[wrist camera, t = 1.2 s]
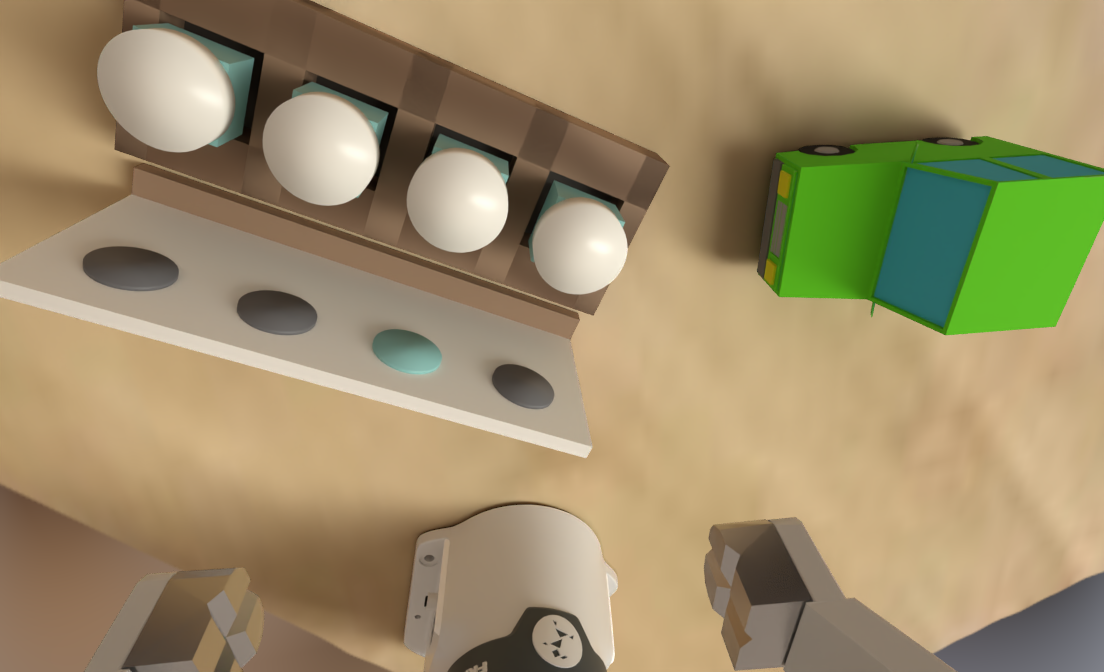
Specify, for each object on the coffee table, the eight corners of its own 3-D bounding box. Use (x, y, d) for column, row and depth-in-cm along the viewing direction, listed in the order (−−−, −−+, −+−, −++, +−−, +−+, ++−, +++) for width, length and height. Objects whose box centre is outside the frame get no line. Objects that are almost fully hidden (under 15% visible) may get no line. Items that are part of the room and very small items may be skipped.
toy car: (763, 127, 34) (852, 170, 26) (978, 114, 35) (1135, 151, 26) (742, 283, 40) (810, 362, 31) (930, 269, 40) (1048, 343, 32)
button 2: (489, 235, 33) (488, 265, 29) (407, 205, 32) (394, 232, 28) (520, 156, 31) (523, 177, 27) (433, 120, 30) (423, 137, 26)
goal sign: (554, 359, 41) (573, 479, 31) (137, 226, 34) (-19, 324, 24) (578, 313, 40) (605, 423, 29) (143, 163, 33) (-23, 238, 22)
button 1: (591, 272, 35) (602, 306, 31) (517, 245, 34) (519, 276, 30) (627, 200, 33) (643, 226, 29) (549, 168, 31) (556, 191, 28)
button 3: (376, 193, 31) (359, 220, 28) (284, 160, 30) (254, 183, 26) (400, 106, 29) (386, 122, 26) (303, 67, 28) (273, 77, 24)
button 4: (250, 147, 30) (214, 169, 26) (148, 109, 29) (94, 126, 25) (267, 51, 28) (230, 60, 24) (157, 6, 26) (100, 7, 23)
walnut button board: (587, 294, 39) (593, 315, 36) (145, 137, 32) (114, 149, 29) (656, 153, 35) (669, 166, 32) (163, -65, 28) (128, -71, 25)
